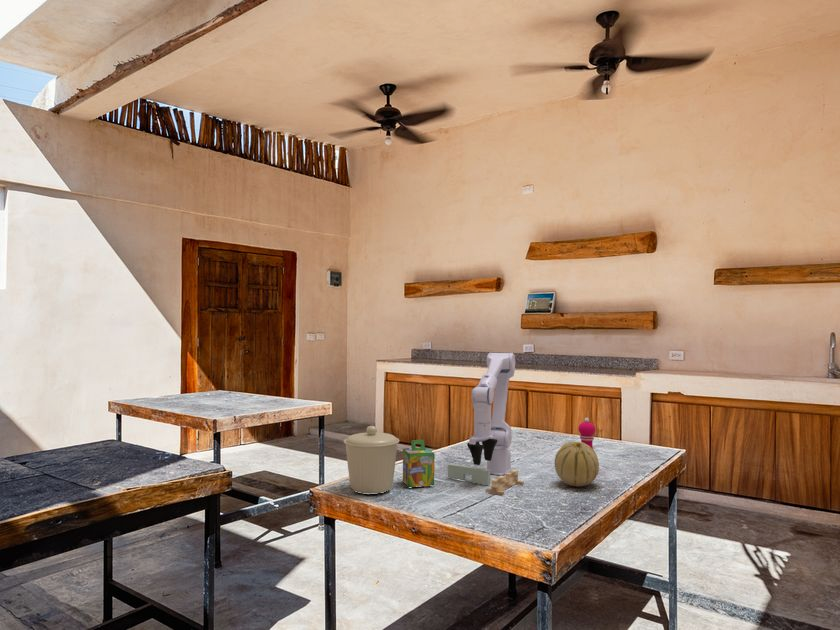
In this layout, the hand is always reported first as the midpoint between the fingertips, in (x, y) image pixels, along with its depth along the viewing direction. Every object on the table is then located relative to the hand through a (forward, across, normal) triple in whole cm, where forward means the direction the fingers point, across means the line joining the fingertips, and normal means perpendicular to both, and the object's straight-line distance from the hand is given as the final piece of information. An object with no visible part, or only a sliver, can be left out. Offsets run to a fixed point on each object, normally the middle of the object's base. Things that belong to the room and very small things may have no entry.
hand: (482, 462), depth 194 cm
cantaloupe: (+8, +17, -26) cm, 32 cm away
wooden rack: (+7, 0, -8) cm, 11 cm away
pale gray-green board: (+7, 0, +6) cm, 9 cm away
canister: (+8, -28, +26) cm, 39 cm away
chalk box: (+8, -13, +18) cm, 23 cm away
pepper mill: (+7, +36, -24) cm, 44 cm away
